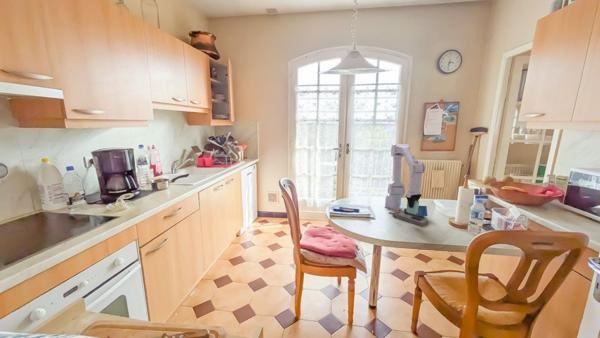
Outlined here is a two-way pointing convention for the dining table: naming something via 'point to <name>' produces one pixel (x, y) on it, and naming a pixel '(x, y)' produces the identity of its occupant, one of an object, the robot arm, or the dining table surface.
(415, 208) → the charger
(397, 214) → the strip
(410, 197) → the robot arm
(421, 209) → the perfume bottle
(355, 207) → the dining table surface
